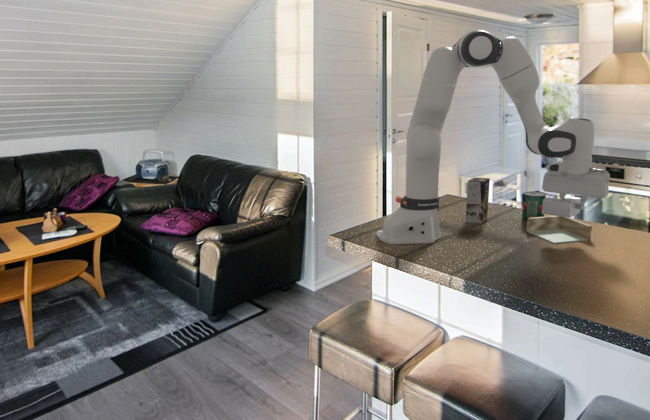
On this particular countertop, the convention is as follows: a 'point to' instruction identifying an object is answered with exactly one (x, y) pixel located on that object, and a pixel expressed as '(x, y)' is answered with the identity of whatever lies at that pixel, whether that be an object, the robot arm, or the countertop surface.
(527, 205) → the canned tomato
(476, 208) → the coffee box
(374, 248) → the countertop surface
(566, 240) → the mat
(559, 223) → the walls
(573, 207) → the bracket
